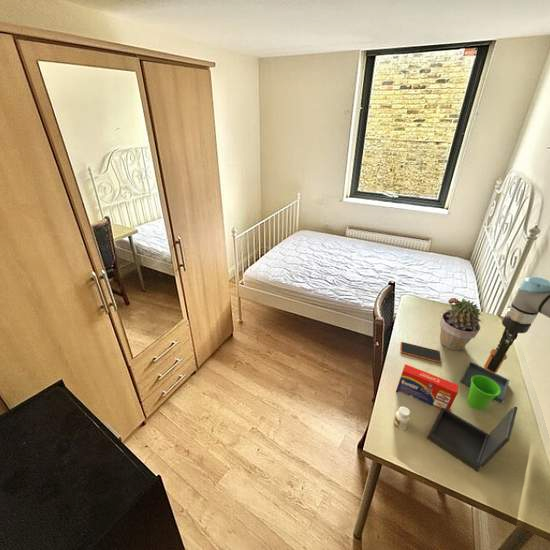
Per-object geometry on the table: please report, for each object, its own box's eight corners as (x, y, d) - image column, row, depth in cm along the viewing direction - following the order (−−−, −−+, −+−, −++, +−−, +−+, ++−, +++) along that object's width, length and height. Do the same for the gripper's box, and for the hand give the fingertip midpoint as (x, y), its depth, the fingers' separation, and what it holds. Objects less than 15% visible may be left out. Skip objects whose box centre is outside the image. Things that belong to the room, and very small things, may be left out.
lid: (506, 438, 78) (509, 440, 78) (514, 405, 87) (517, 407, 87) (479, 465, 87) (482, 467, 86) (489, 433, 95) (492, 435, 95)
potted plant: (486, 353, 133) (508, 308, 120) (449, 360, 129) (469, 314, 116) (456, 328, 148) (473, 286, 136) (423, 333, 144) (437, 291, 132)
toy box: (448, 406, 108) (458, 384, 103) (447, 414, 105) (457, 392, 100) (398, 384, 117) (404, 363, 111) (395, 391, 114) (402, 370, 108)
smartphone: (400, 342, 138) (400, 341, 137) (439, 352, 133) (439, 350, 132) (400, 353, 132) (400, 351, 131) (441, 363, 127) (441, 362, 126)
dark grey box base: (426, 439, 97) (428, 433, 95) (439, 413, 106) (442, 407, 104) (476, 473, 88) (480, 467, 87) (486, 441, 97) (490, 435, 95)
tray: (507, 383, 118) (509, 380, 117) (501, 404, 110) (503, 400, 109) (468, 364, 126) (470, 361, 125) (459, 382, 118) (461, 378, 117)
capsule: (499, 368, 114) (508, 353, 110) (497, 376, 111) (505, 361, 107) (484, 361, 117) (492, 347, 113) (481, 368, 114) (489, 353, 110)
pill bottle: (391, 418, 103) (396, 404, 100) (403, 419, 103) (408, 405, 99) (395, 430, 100) (400, 416, 96) (408, 431, 99) (413, 417, 96)
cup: (494, 415, 105) (507, 395, 100) (469, 415, 105) (481, 395, 100) (479, 394, 113) (490, 374, 108) (456, 394, 113) (466, 374, 108)
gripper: (510, 303, 110) (486, 348, 121) (500, 325, 98) (475, 373, 110) (535, 311, 105) (508, 358, 117) (528, 335, 94) (499, 384, 105)
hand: (492, 365), depth 113 cm, fingers closed on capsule, 5 cm apart
